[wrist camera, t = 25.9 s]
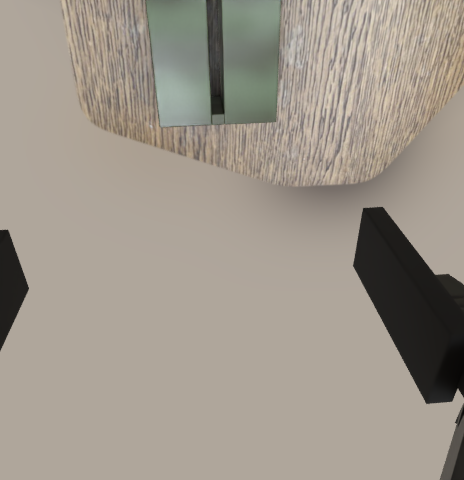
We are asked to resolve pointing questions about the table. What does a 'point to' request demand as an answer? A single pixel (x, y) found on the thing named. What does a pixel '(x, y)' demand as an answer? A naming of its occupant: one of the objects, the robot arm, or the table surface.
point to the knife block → (230, 61)
